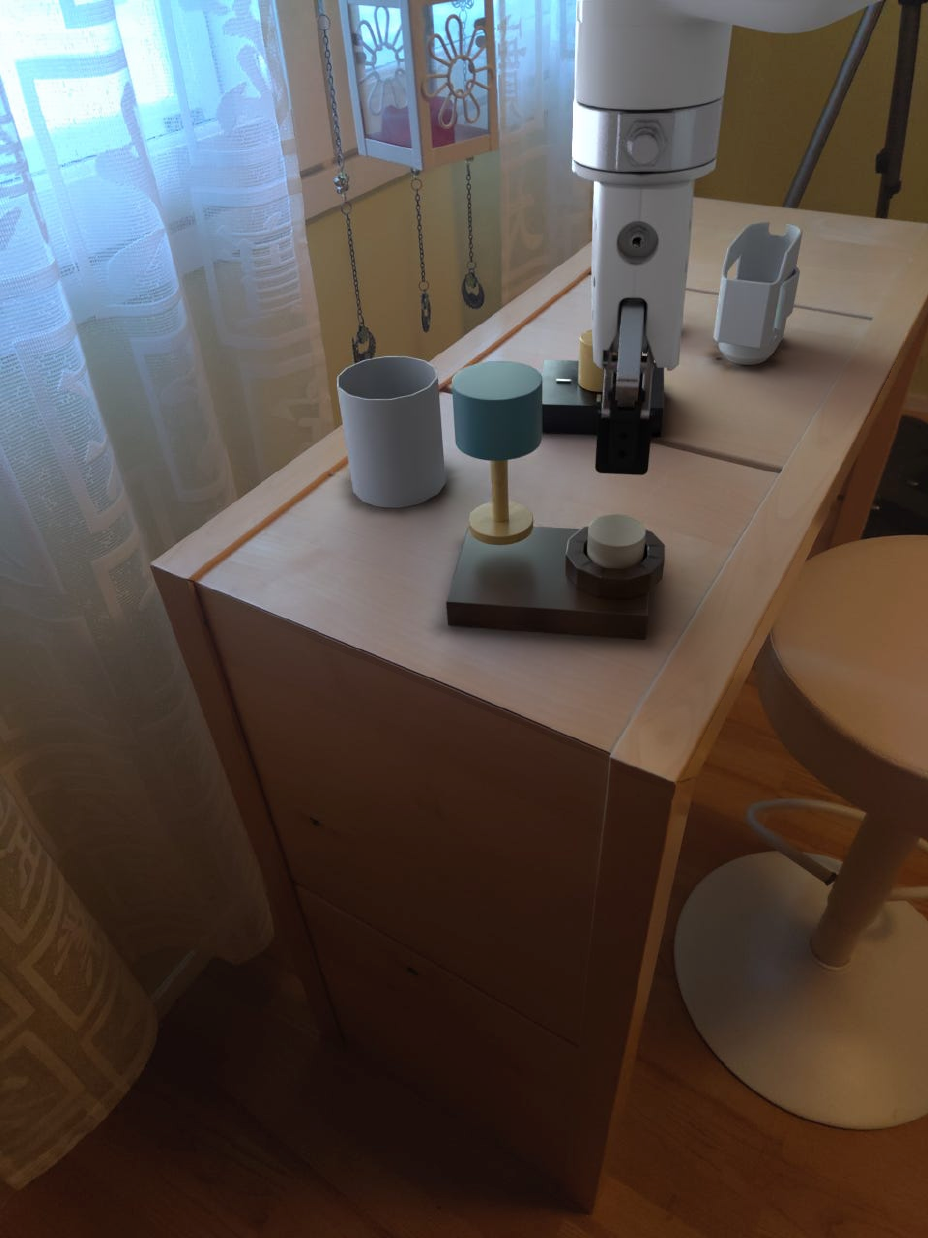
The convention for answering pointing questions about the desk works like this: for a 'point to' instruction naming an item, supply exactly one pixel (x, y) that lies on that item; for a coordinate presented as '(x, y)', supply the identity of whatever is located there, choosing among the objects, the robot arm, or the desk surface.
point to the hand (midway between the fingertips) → (623, 438)
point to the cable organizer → (757, 293)
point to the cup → (392, 430)
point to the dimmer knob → (589, 365)
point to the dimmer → (584, 400)
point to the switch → (616, 541)
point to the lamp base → (552, 586)
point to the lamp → (498, 438)
